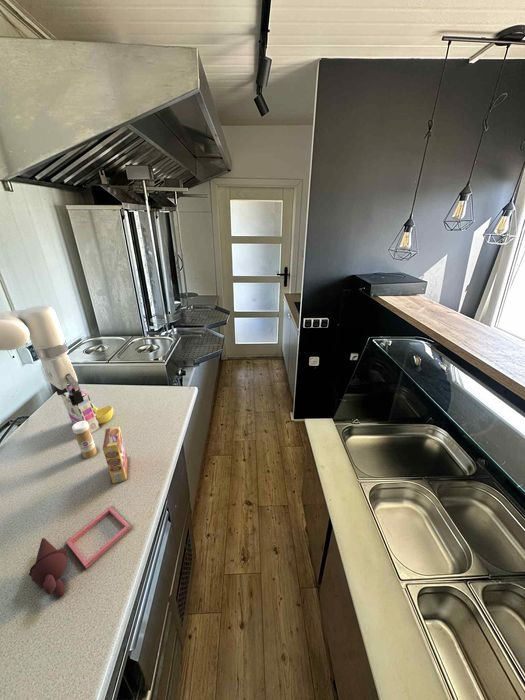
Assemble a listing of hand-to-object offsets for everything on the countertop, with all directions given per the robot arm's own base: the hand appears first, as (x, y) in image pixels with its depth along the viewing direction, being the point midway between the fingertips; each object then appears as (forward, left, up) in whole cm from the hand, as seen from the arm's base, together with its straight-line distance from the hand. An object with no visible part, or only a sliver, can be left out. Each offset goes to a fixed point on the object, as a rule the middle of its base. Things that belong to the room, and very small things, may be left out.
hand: (70, 398), depth 90 cm
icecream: (-24, -30, -24) cm, 45 cm away
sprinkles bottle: (0, 0, -24) cm, 24 cm away
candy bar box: (+6, +16, -24) cm, 29 cm away
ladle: (+13, +22, -24) cm, 35 cm away
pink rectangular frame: (-13, -31, -24) cm, 41 cm away
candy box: (+2, -16, -24) cm, 29 cm away
